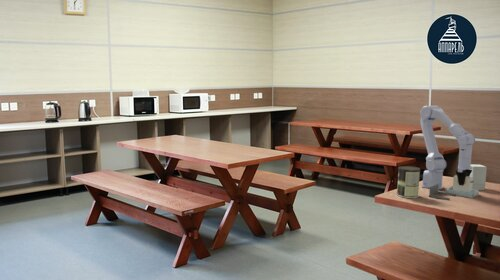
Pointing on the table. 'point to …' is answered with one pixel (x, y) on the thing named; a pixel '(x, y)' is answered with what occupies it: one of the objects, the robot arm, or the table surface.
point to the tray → (463, 192)
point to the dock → (435, 190)
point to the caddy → (466, 187)
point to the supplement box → (478, 176)
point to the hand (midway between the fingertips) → (462, 184)
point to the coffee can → (408, 181)
